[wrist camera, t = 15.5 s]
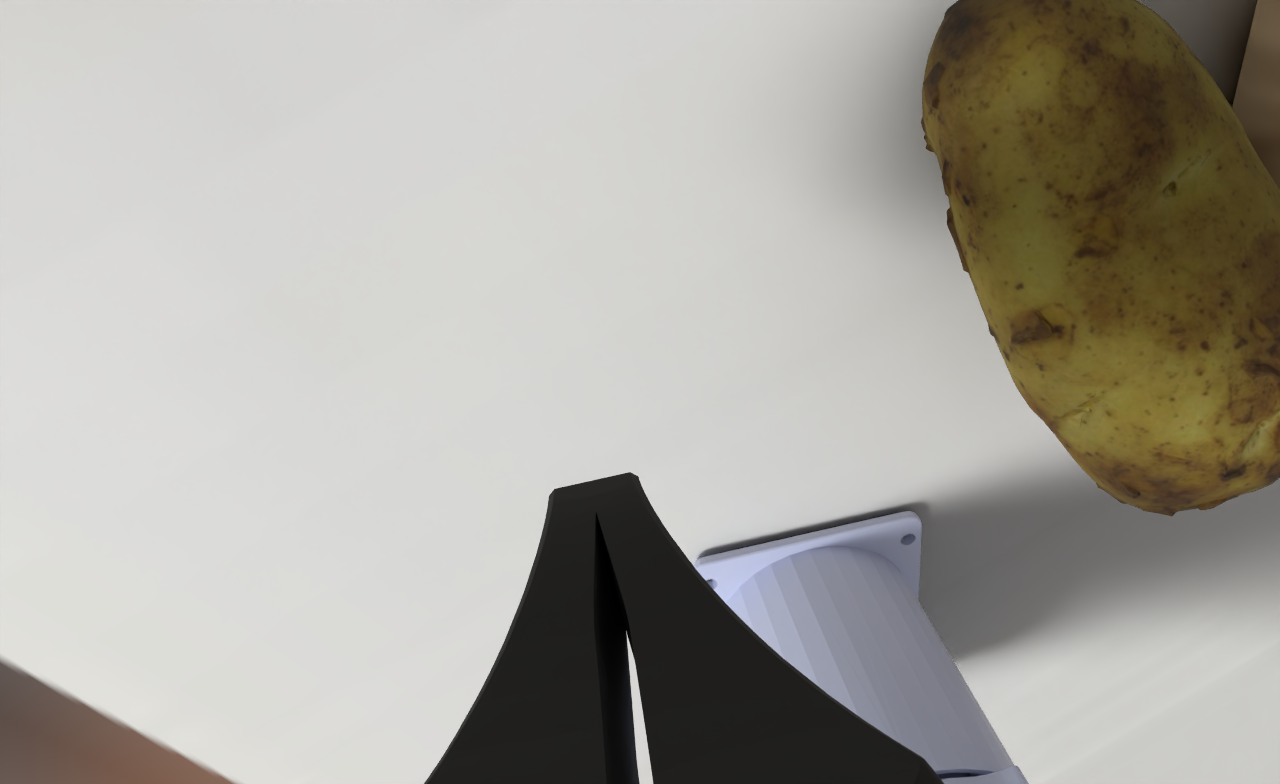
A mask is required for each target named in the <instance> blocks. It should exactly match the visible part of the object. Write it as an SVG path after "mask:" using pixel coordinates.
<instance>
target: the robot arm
mask: <svg viewBox="0 0 1280 784" xmlns="http://www.w3.org/2000/svg"><path fill="white" fill-rule="evenodd" d="M907 534H908V535H907ZM905 535H907V536H905ZM904 536H905V537H904ZM921 537H922V522H921V520H920V518H919V517H918V515H917V514H916V513H915V512H912V511H904V512H900V513H895V514H891V515H886V516H882V517H878V518H873V519H869V520H864V521H860V522H856V523H851V524H847V525H842V526H838V527H833V528H829V529H825V530H820V531H816V532H811V533H807V534H803V535H798V536H794V537H789V538H785V539H781V540H776V541H772V542H767V543H763V544H759V545H754V546H750V547H745V548H741V549H736V550H732V551H728V552H723V553H719V554H714V555H710V556H706V557H702V558H700V559H698V560H697V561H696V562H694V564H693V565H692V563H691V562H690V561H689V560H688V558H687V557H686V556H685V554H684V553H683V552H682V550H681V549H680V548H679V546H678V545H677V544H676V542H675V541H674V540H673V538H672V537H671V535H670V534H669V533H668V531H667V530H666V528H665V527H664V525H663V524H662V522H661V520H660V519H659V517H658V516H657V514H656V513H655V511H654V509H653V507H652V506H651V504H650V502H649V500H648V498H647V497H646V495H645V493H644V490H643V488H642V486H641V483H640V481H639V477H638V476H636V475H634V474H633V473H631V472H629V473H625V474H620V475H616V476H611V477H607V478H602V479H598V480H593V481H589V482H584V483H580V484H575V485H571V486H566V487H562V488H557V489H554V491H553V492H552V493H551V494H550V496H549V501H548V508H547V513H546V519H545V523H544V528H543V532H542V536H541V539H540V543H539V547H538V550H537V554H536V557H535V560H534V563H533V566H532V569H531V572H530V575H529V579H528V582H527V585H526V588H525V591H524V593H523V596H522V599H521V602H520V604H519V607H518V609H517V611H516V614H515V616H514V619H513V621H512V624H511V626H510V629H509V631H508V634H507V636H506V639H505V641H504V643H503V646H502V648H501V650H500V652H499V654H498V657H497V659H496V661H495V663H494V665H493V667H492V669H491V671H490V673H489V675H488V677H487V679H486V681H485V683H484V685H483V687H482V689H481V691H480V693H479V695H478V697H477V699H476V700H475V702H474V704H473V706H472V707H471V709H470V711H469V713H468V714H467V716H466V718H465V720H464V722H463V723H462V725H461V727H460V729H459V730H458V732H457V734H456V736H455V737H454V739H453V740H452V742H451V744H450V745H449V747H448V749H447V750H446V752H445V753H444V755H443V757H442V758H441V760H440V761H439V763H438V764H437V766H436V767H435V769H434V770H433V772H432V773H431V775H430V776H429V778H428V779H427V780H426V782H425V783H424V784H639V777H638V769H637V760H636V748H635V735H634V723H633V710H632V697H631V685H630V672H629V660H628V648H627V636H626V631H627V635H628V638H629V642H630V645H631V649H632V652H633V656H634V659H635V664H636V670H637V676H638V683H639V689H640V696H641V702H642V709H643V715H644V722H645V729H646V735H647V742H648V749H649V756H650V762H651V769H652V776H653V784H1028V782H1027V780H1026V779H1025V777H1024V775H1023V774H1022V772H1021V770H1020V769H1019V767H1018V766H1015V765H1014V764H1013V762H1012V760H1011V758H1010V757H1009V755H1008V753H1007V752H1006V750H1005V748H1004V747H1003V745H1002V743H1001V741H1000V740H999V738H998V736H997V735H996V733H995V731H994V729H993V728H992V726H991V724H990V723H989V721H988V719H987V718H986V716H985V714H984V712H983V711H982V709H981V707H980V706H979V704H978V702H977V700H976V699H975V697H974V695H973V694H972V692H971V690H970V688H969V687H968V685H967V683H966V682H965V680H964V678H963V677H962V675H961V673H960V671H959V670H958V668H957V666H956V665H955V663H954V661H953V659H952V658H951V656H950V654H949V653H948V651H947V649H946V648H945V646H944V644H943V642H942V641H941V639H940V637H939V636H938V634H937V632H936V630H935V629H934V627H933V625H932V624H931V622H930V620H929V618H928V617H927V615H926V613H925V612H924V610H923V608H922V607H921V605H920V603H919V601H918V599H919V578H920V558H921ZM709 579H713V580H711V581H709V582H706V580H709Z"/></svg>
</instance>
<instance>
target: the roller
mask: <svg viewBox="0 0 1280 784" xmlns="http://www.w3.org/2000/svg"><path fill="white" fill-rule="evenodd" d="M1232 108H1233V110H1234V112H1235V114H1236V115H1237V117H1238V119H1239V120H1240V122H1241V123H1242V125H1243V128H1244V131H1245V133H1246V135H1247V137H1248V139H1249V141H1250V143H1251V144H1252V146H1253V148H1254V150H1255V151H1256V153H1257V155H1258V156H1259V158H1260V160H1261V162H1262V163H1263V165H1264V167H1265V168H1266V169H1267V171H1268V172H1269V174H1270V176H1271V177H1272V179H1273V181H1274V182H1275V184H1276V185H1277V187H1278V189H1279V190H1280V0H1258V1H1257V5H1256V9H1255V13H1254V18H1253V22H1252V26H1251V30H1250V34H1249V39H1248V43H1247V47H1246V51H1245V55H1244V60H1243V64H1242V68H1241V72H1240V76H1239V81H1238V85H1237V89H1236V93H1235V98H1234V102H1233V106H1232Z"/></svg>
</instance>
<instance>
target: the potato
mask: <svg viewBox="0 0 1280 784" xmlns="http://www.w3.org/2000/svg"><path fill="white" fill-rule="evenodd" d="M922 104H923V117H922V121H921V124H922V127H923V130H924V132H925V136H924V139H925V141H926V143H927V146H926V149H928V150H929V151H931V152H934V153H935V154H936V156H937V158H938V162H939V165H940V168H941V171H942V179H943V184H944V189H945V194H946V195H947V196H948V198H949V203H950V208H949V209H948V210H947V225H948V228H949V230H950V233H951V235H952V237H953V240H954V242H955V245H956V247H957V250H958V253H959V256H960V259H961V263H962V266H963V270H964V271H966V272H968V273H969V275H970V278H971V280H972V282H973V285H974V288H975V290H976V293H977V296H978V299H979V301H980V304H981V307H982V310H983V312H984V315H985V317H986V319H987V322H988V326H989V331H990V334H991V335H992V336H994V338H995V340H996V343H997V345H998V347H999V350H1000V352H1001V354H1002V356H1003V359H1004V361H1005V363H1006V365H1007V368H1008V370H1009V372H1010V374H1011V377H1012V379H1013V381H1014V383H1015V385H1016V387H1017V388H1018V390H1019V392H1020V394H1021V395H1022V396H1023V398H1024V399H1025V401H1026V402H1027V404H1028V405H1029V407H1030V408H1031V409H1032V410H1033V411H1034V412H1035V413H1036V414H1037V415H1038V416H1039V417H1040V418H1041V419H1042V420H1043V421H1044V422H1045V424H1046V425H1047V426H1048V427H1049V428H1050V430H1051V431H1052V432H1053V433H1054V434H1055V435H1056V437H1057V438H1058V439H1059V441H1060V442H1061V443H1062V445H1063V446H1064V447H1065V448H1066V450H1067V451H1068V452H1069V453H1070V455H1071V456H1072V457H1073V458H1074V459H1075V461H1076V462H1077V463H1078V464H1079V465H1080V467H1081V468H1082V469H1083V470H1084V471H1085V472H1086V473H1087V474H1088V475H1089V476H1090V477H1091V478H1092V479H1093V480H1094V481H1095V482H1096V484H1097V486H1098V488H1101V489H1103V490H1104V491H1106V492H1107V493H1109V494H1110V495H1111V496H1113V497H1114V498H1116V499H1117V500H1118V501H1120V502H1121V503H1126V504H1130V505H1133V506H1136V507H1138V508H1141V509H1142V510H1144V511H1149V512H1155V513H1160V514H1165V515H1169V516H1173V515H1174V514H1175V513H1176V512H1178V511H1183V510H1189V509H1196V508H1198V509H1200V510H1206V509H1211V508H1214V507H1216V506H1218V505H1220V504H1222V503H1223V502H1225V501H1227V500H1230V499H1232V498H1235V497H1238V496H1239V495H1241V494H1245V493H1249V492H1253V491H1256V490H1259V489H1261V488H1263V487H1266V486H1268V485H1270V484H1272V483H1274V482H1275V481H1276V480H1277V479H1278V478H1280V190H1279V189H1278V187H1277V185H1276V184H1275V182H1274V181H1273V179H1272V177H1271V176H1270V174H1269V172H1268V171H1267V169H1266V168H1265V167H1264V165H1263V163H1262V162H1261V160H1260V158H1259V156H1258V155H1257V153H1256V151H1255V150H1254V148H1253V146H1252V144H1251V143H1250V141H1249V139H1248V137H1247V135H1246V133H1245V131H1244V128H1243V125H1242V123H1241V122H1240V120H1239V119H1238V117H1237V115H1236V114H1235V112H1234V110H1233V108H1232V107H1231V105H1230V104H1229V103H1228V101H1227V100H1226V98H1225V97H1224V95H1223V94H1222V92H1221V90H1220V89H1219V87H1218V86H1217V84H1216V83H1215V81H1214V80H1213V78H1212V77H1211V75H1210V74H1209V72H1208V71H1207V70H1206V68H1205V67H1204V66H1203V64H1202V63H1201V62H1200V61H1199V59H1198V58H1197V57H1196V56H1195V55H1194V53H1193V52H1192V51H1191V50H1190V48H1189V47H1188V46H1187V45H1186V44H1185V42H1184V41H1183V40H1182V39H1181V37H1180V36H1179V35H1178V34H1177V33H1176V32H1175V31H1174V30H1173V28H1172V27H1171V26H1170V25H1169V24H1168V23H1167V22H1166V21H1165V20H1163V19H1162V18H1161V17H1160V16H1159V15H1158V14H1156V13H1155V12H1154V11H1152V10H1151V9H1149V8H1148V7H1146V6H1144V5H1143V4H1141V3H1139V2H1138V1H1136V0H958V1H957V2H956V3H955V4H953V5H952V6H951V7H950V8H949V9H948V10H947V11H946V13H945V16H944V20H943V22H942V24H941V26H940V27H939V30H938V32H937V34H936V36H935V39H934V42H933V45H932V47H931V50H930V53H929V56H928V61H927V65H926V70H925V76H924V82H923V89H922Z"/></svg>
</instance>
